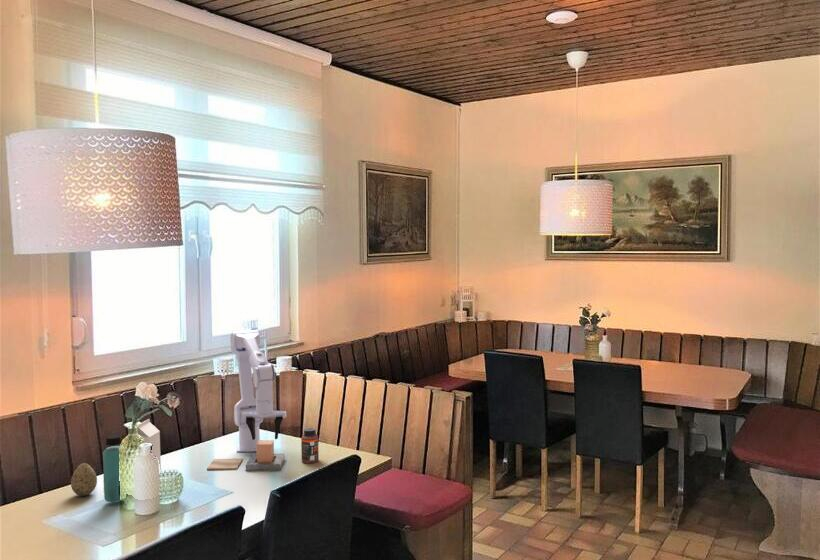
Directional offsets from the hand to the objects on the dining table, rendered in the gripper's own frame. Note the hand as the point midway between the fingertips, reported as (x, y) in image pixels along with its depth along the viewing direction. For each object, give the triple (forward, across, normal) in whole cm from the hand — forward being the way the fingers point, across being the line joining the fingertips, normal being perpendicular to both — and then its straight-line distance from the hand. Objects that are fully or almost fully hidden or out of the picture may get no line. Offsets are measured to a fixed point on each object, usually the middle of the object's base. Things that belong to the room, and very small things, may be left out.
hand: (265, 438), depth 231 cm
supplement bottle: (+9, +15, +3) cm, 18 cm away
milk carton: (+9, -37, -11) cm, 40 cm away
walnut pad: (+9, -14, +1) cm, 17 cm away
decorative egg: (+9, -51, -24) cm, 57 cm away
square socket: (+9, 0, 0) cm, 9 cm away
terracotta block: (+9, 0, 0) cm, 9 cm away
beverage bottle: (+9, -39, -31) cm, 51 cm away
